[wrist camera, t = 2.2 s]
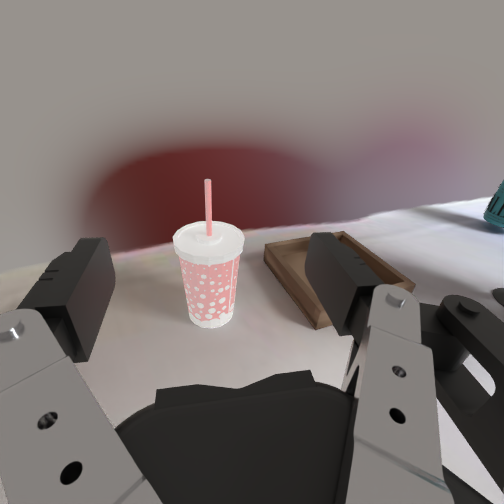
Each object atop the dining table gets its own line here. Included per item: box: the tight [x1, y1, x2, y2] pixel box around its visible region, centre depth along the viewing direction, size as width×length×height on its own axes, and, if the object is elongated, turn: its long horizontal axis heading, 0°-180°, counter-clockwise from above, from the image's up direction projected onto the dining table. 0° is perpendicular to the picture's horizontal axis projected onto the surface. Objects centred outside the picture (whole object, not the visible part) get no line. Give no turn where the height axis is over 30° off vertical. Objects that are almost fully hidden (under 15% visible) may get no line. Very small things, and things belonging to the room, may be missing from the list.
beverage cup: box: [173, 179, 245, 328], centre depth 25 cm, size 6×6×14 cm
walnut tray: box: [264, 231, 416, 330], centre depth 33 cm, size 13×13×3 cm
